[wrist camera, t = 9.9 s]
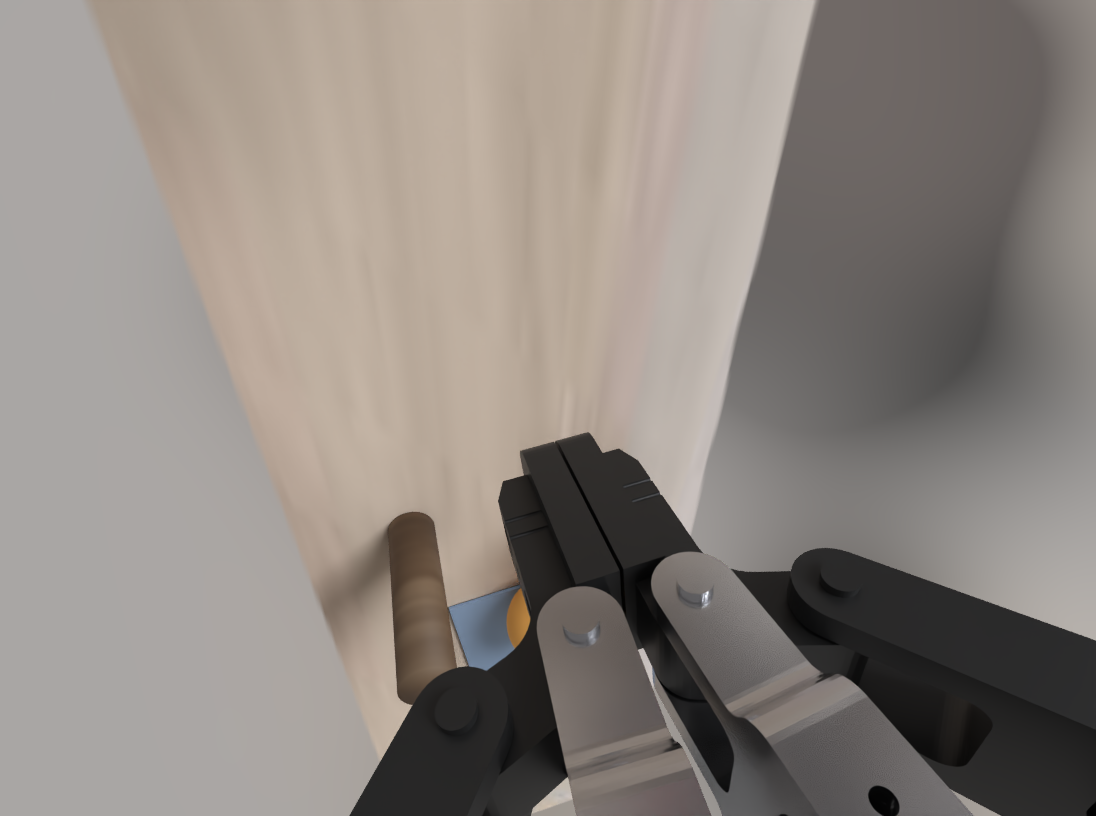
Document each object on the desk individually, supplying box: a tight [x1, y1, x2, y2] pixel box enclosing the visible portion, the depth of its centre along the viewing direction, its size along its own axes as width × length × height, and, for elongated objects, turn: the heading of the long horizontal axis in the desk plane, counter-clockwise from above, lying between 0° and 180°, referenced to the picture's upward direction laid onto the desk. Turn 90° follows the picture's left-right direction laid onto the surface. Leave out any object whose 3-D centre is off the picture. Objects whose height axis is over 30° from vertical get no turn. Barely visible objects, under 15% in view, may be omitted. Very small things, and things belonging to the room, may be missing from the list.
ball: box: [507, 588, 530, 648], centre depth 32 cm, size 5×5×5 cm
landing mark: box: [449, 585, 521, 671], centre depth 38 cm, size 14×10×1 cm
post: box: [388, 512, 457, 705], centre depth 25 cm, size 2×2×9 cm
